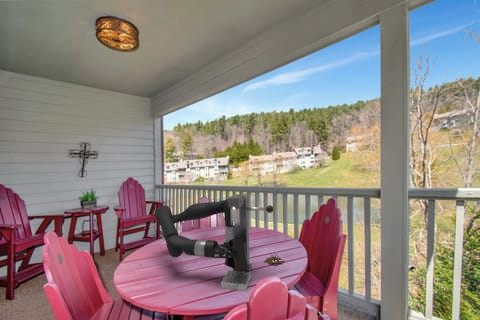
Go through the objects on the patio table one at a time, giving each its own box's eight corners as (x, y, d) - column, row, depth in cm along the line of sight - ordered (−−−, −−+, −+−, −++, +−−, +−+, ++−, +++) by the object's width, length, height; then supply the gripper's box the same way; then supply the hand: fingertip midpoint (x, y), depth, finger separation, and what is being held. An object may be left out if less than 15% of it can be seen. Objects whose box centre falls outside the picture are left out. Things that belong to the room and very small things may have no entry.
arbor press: (233, 267, 114) (232, 193, 115) (276, 271, 108) (273, 194, 110) (221, 287, 94) (219, 199, 96) (271, 293, 89) (268, 199, 91)
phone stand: (224, 264, 100) (224, 238, 100) (234, 260, 104) (233, 235, 104) (238, 271, 93) (237, 242, 94) (247, 266, 97) (247, 239, 98)
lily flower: (289, 261, 120) (289, 253, 120) (277, 269, 111) (277, 260, 111) (271, 256, 128) (271, 248, 128) (259, 263, 119) (258, 254, 120)
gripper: (212, 250, 109) (245, 253, 105) (199, 263, 95) (237, 266, 91) (212, 235, 109) (244, 237, 105) (199, 245, 96) (236, 248, 91)
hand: (241, 251), depth 98 cm, fingers closed on phone stand, 6 cm apart
